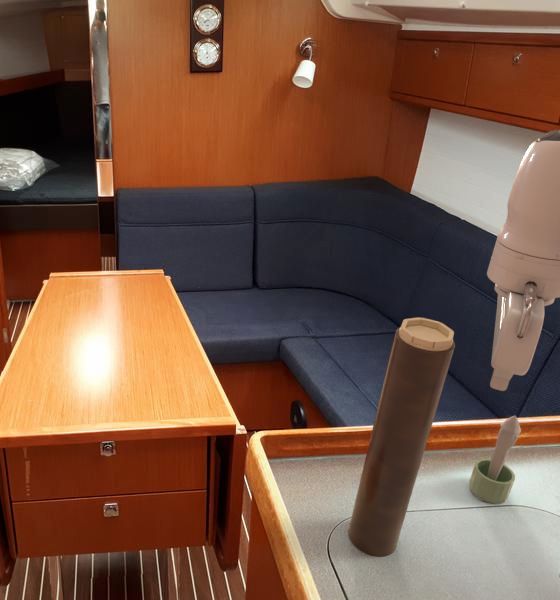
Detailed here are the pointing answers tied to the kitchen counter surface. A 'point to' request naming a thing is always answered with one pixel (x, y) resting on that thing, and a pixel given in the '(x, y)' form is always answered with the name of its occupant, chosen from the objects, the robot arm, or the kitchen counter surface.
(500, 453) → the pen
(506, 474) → the olive short hollow cylinder
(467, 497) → the kitchen counter surface
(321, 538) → the kitchen counter surface
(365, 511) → the pedestal
